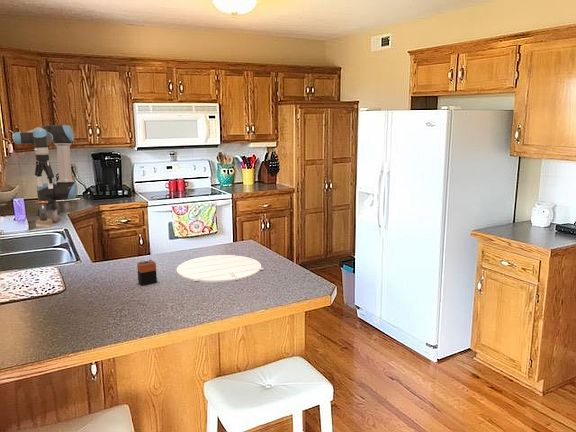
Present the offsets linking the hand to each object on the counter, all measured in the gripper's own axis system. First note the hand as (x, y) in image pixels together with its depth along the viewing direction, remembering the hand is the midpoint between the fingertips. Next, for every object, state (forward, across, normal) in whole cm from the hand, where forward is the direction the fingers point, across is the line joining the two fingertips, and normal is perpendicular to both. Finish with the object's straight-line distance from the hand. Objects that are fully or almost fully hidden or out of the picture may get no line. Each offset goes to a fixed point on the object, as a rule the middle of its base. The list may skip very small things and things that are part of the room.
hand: (45, 187), depth 304 cm
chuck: (+26, -16, +8) cm, 31 cm away
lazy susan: (+25, +152, +6) cm, 154 cm away
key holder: (+26, -5, -1) cm, 26 cm away
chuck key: (+25, -5, -1) cm, 26 cm away
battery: (+25, +142, -28) cm, 147 cm away
